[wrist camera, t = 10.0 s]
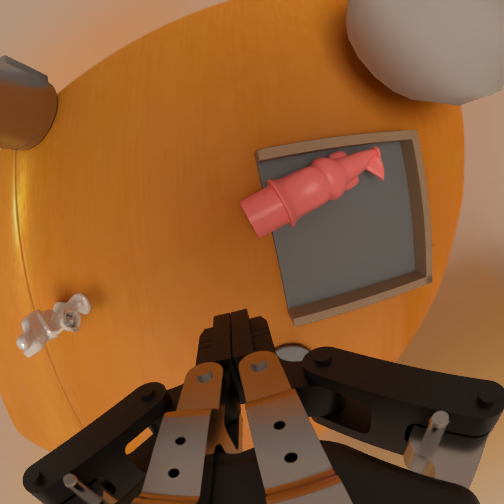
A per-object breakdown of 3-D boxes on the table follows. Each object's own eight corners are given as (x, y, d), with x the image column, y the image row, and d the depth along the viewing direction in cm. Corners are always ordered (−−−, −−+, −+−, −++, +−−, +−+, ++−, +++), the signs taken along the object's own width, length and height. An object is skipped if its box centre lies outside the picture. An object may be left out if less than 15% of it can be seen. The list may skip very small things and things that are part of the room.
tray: (254, 153, 27) (257, 150, 24) (402, 133, 27) (416, 129, 24) (289, 314, 31) (294, 327, 28) (418, 274, 32) (432, 282, 29)
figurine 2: (261, 242, 29) (379, 177, 28) (265, 249, 24) (403, 173, 23) (237, 197, 28) (358, 136, 27) (235, 195, 23) (378, 124, 22)
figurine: (46, 306, 29) (-6, 349, 17) (83, 268, 28) (23, 309, 17) (68, 334, 30) (22, 385, 18) (107, 300, 29) (58, 354, 18)
